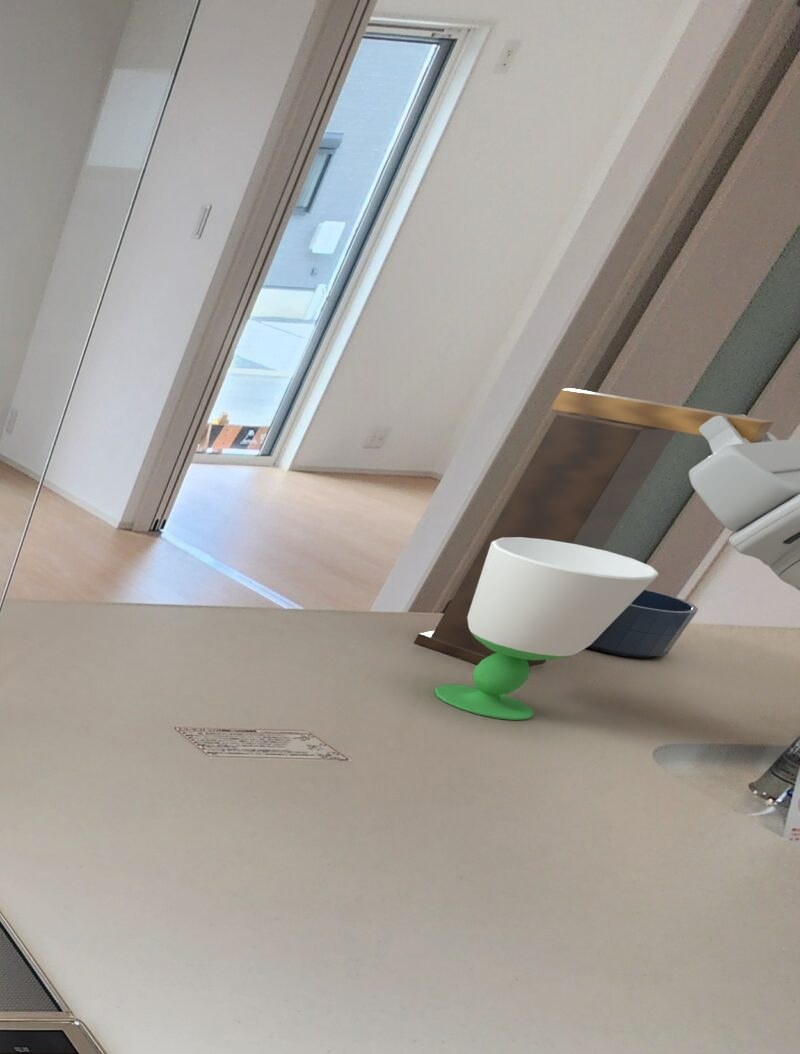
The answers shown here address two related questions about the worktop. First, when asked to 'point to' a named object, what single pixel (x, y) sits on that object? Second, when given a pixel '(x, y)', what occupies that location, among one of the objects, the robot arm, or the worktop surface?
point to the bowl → (646, 626)
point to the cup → (540, 614)
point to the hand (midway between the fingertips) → (719, 420)
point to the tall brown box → (559, 505)
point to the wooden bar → (653, 413)
